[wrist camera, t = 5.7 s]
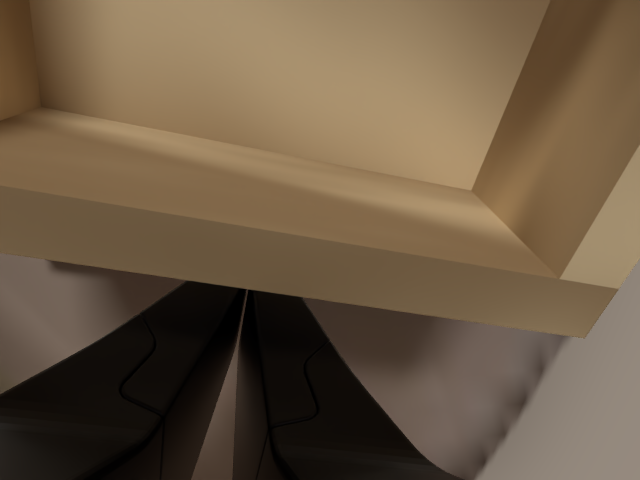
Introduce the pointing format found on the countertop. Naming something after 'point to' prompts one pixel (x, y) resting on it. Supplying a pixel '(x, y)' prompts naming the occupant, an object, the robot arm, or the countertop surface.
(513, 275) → the socket block
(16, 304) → the countertop surface
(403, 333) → the countertop surface
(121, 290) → the countertop surface
